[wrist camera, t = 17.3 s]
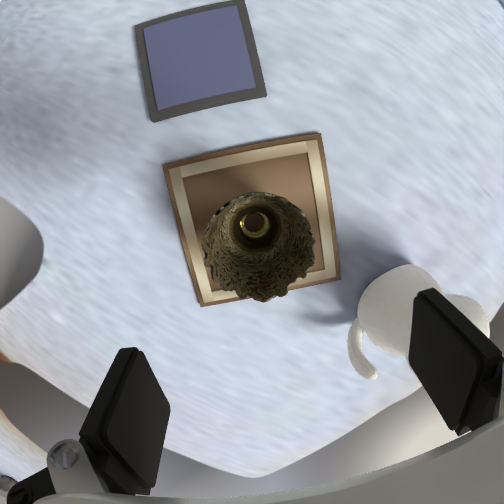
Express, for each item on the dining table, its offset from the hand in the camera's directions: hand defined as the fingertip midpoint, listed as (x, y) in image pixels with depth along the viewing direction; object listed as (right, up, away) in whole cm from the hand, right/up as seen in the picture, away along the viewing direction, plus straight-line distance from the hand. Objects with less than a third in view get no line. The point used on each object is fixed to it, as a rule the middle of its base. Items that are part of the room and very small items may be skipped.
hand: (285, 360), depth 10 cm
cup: (-1, +6, +18) cm, 19 cm away
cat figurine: (+13, -2, +22) cm, 26 cm away
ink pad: (-6, +21, +13) cm, 25 cm away
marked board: (-1, +6, +18) cm, 19 cm away
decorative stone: (-78, -70, +43) cm, 113 cm away
